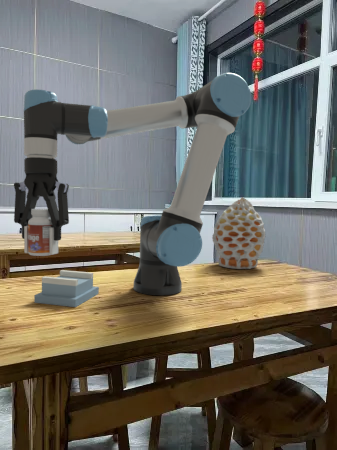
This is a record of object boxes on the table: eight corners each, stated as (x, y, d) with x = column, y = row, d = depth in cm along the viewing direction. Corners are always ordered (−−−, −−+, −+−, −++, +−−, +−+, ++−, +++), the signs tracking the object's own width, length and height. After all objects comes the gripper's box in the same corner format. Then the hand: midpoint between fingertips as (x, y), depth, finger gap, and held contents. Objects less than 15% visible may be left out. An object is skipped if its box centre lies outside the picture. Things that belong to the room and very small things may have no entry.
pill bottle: (23, 254, 89) (22, 208, 89) (46, 251, 94) (45, 208, 93) (36, 257, 85) (36, 209, 85) (59, 254, 90) (59, 209, 89)
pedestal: (98, 293, 107) (98, 271, 107) (75, 307, 94) (76, 282, 93) (61, 289, 110) (62, 268, 110) (34, 302, 97) (34, 278, 96)
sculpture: (253, 274, 142) (256, 197, 140) (202, 267, 154) (205, 195, 152) (269, 266, 160) (273, 198, 158) (223, 260, 172) (226, 196, 170)
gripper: (84, 159, 89) (84, 253, 91) (16, 159, 94) (17, 248, 96) (69, 156, 82) (69, 257, 84) (-4, 156, 86) (-3, 252, 88)
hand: (41, 252), depth 90 cm, fingers closed on pill bottle, 6 cm apart
